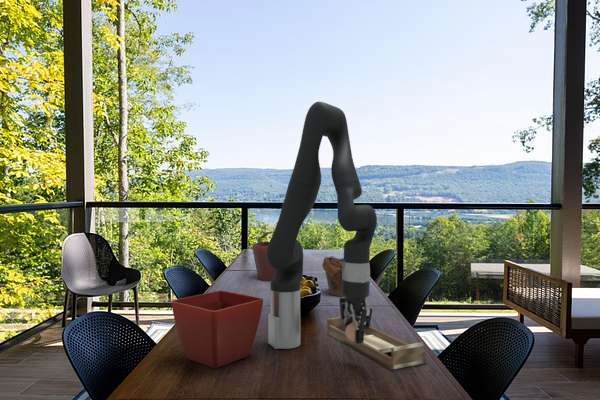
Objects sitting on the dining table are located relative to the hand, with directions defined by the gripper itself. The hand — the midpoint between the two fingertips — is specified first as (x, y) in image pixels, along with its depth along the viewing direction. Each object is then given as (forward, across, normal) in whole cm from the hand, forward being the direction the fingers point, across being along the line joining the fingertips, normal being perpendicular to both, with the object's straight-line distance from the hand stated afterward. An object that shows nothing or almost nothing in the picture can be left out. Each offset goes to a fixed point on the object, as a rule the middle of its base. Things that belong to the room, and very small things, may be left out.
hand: (354, 339), depth 131 cm
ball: (-2, 0, 0) cm, 2 cm away
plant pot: (+8, -21, -32) cm, 40 cm away
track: (+7, -11, +13) cm, 18 cm away
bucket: (+9, -124, +25) cm, 127 cm away
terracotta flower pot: (+8, -78, +40) cm, 88 cm away
